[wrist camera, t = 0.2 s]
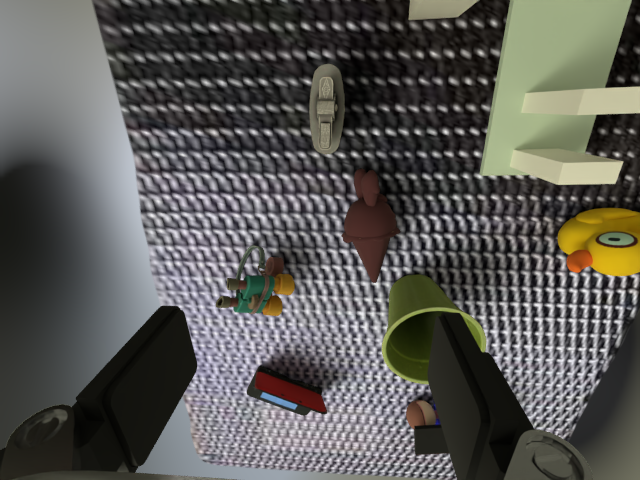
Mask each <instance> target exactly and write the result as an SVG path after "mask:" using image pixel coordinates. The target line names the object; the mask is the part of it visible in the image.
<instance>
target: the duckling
mask: <svg viewBox="0 0 640 480" xmlns="http://www.w3.org/2000/svg"><path fill="white" fill-rule="evenodd" d="M558 244H559V247H560V248H561V250H562V251H564V252H565V253H567V254H569V256H568V257H567V266H568V268H569V269H570V270H571V271H573V272H581V269H583V268H586V267H588V266H591V267H592V268H593V269H595V270H596V271H598V272H600V273H603V274H606V275H612V276H627V275H632V274H635V273H638V272H640V213H639V212H635V211H631V210H628V209H622V208H600V209H592V210H588V211H585V212H582V213H580V214H578V215H577V216H576V217H575V218H572V219H570V220H568V221H567V222H566V223H565V224H564V225H563V226H562V227H561V229H560V230H559V232H558Z"/></svg>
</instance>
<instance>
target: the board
mask: <svg viewBox="0 0 640 480" xmlns="http://www.w3.org/2000/svg"><path fill="white" fill-rule="evenodd" d="M631 1H632V0H510V5H509V11H508V16H507V22H506V28H505V33H504V39H503V45H502V50H501V56H500V62H499V67H498V73H497V79H496V84H495V90H494V96H493V102H492V107H491V113H490V119H489V124H488V130H487V136H486V141H485V147H484V153H483V158H482V164H481V170H480V175H482V176H489V175H530V174H528V173H525V172H522V171H520V170H517V169H514V168H512V167H510V163H511V159H512V154H513V150H519V149H557V148H559V149H564V150H569V151H574V152H579V153H584V154H585V150H586V147H587V144H588V141H589V137H590V134H591V131H592V128H593V124H594V121H595V118H596V115H561V114H537V113H521V112H522V107H523V103H524V98H525V93H534V92H548V91H563V90H578V89H597V88H605V85H606V82H607V79H608V76H609V72H610V69H611V66H612V63H613V59H614V56H615V53H616V50H617V46H618V43H619V40H620V37H621V33H622V30H623V27H624V24H625V20H626V17H627V14H628V11H629V7H630V4H631Z"/></svg>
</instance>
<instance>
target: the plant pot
mask: <svg viewBox="0 0 640 480" xmlns="http://www.w3.org/2000/svg"><path fill="white" fill-rule="evenodd" d="M443 312H455V313H460V314H461V315H462V317H463V319H464V320H465V322H466V324H467V326H468V328H469V330H470V331H471V333H472V335H473V337H474V339H475V340H476V342H477V344H478V346H479V348H480V349H481V351H482V352H485V349H486V336H485V333H484V330H483V328H482V327H481V325H480V324H479V323H478V322H477V321H476V320H475V319H474V318H473V317H471V316H470V315H469V314H467V313H465V312H463V311H462V310H460V309H459V308H458V307H456V306H455V305H454V304H453V302H452V301H451V300H450V299H449V298H448V297H447V296H446V294H445V293H444V292H443V291H442V290H441V289H440V288H439V286H438V285H437V284H436V283H435V282H434V281H433V280H432V279H431V278H429V277H427V276H424V275H420V274H419V275H407V276H404V277H402V278H400V279H399V280H397V281H396V282H395V283H394V285H393V286H392V288H391V290H390V294H389V319H388V328H387V332H386V334H385V336H384V339H383V343H382V354H383V358H384V361H385V363H386V364H387V366H388V367H389V368H390V369H391V370H392V371H393V372H394V373H395V374H396V375H398V376H399V377H401V378H404V379H406V380H408V381H411V382H415V383H421V384H429V383H428V376H427V373H428V365H429V359H430V352H431V346H432V339H433V332H434V326H435V319H436V317H437V316H441V314H442V313H443Z"/></svg>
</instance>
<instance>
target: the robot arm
mask: <svg viewBox="0 0 640 480" xmlns="http://www.w3.org/2000/svg"><path fill="white" fill-rule="evenodd" d="M196 370H197V361H196V357H195V353H194V349H193V345H192V341H191V337H190V334H189V330H188V326H187V322H186V318H185V314H184V312H183V311H182V310H180V308H179V307H178V306H161V307H160V308H159V309H158V310H157V311H156V312H155V313H154V314H153V315H152V316H151V317H150V318H149V319H148V320H147V321H146V323H145V324H144V325H143V326H142V327H141V328H140V329H139V330H138V331H137V332H136V333H135V334H134V336H133V337H132V338H131V339H130V340H129V341H128V342H127V343H126V344H125V345H124V346H123V347H122V348H121V350H120V351H119V352H118V353H117V354H116V355H115V356H114V357H113V358H112V359H111V360H110V362H108V363H107V365H106V366H105V367H104V368H103V369H102V370H101V371H100V372H99V373H98V374H97V375H96V376H95V378H94V379H93V380H92V381H91V382H90V383H89V384H88V385H87V386H86V387H85V388H84V389H83V390H82V392H81V393H80V394H79V395H78V396H77V397H76V400H77V402H76V403H75V404H74V405H73V406H72V407H71V406H69V405H64V404H61V405H54V406H51V407H48V408H45V409H43V410H41V411H39V412H37V413H36V414H34V415H32V416H31V417H29V418H28V419H26V420H25V421H24V422H23V423H22V424H21V425H20V426H18V427H17V428H16V429H15V431H14V432H13V433H12V434H11V436H10V437H9V439H8V442H7V444H6V448H4V449H2V450H0V480H234V479H220V478H206V477H190V476H176V475H161V474H146V473H145V474H144V473H135V472H136V470H137V468H138V466H141V465H143V464H144V463H145V461H146V459H147V458H148V456H149V454H150V452H151V450H152V449H153V447H154V445H155V444H156V442H157V440H158V438H159V436H160V435H161V433H162V431H163V429H164V427H165V426H166V424H167V422H168V421H169V419H170V417H171V415H172V413H173V412H174V410H175V408H176V406H177V404H178V403H179V401H180V399H181V398H182V396H183V394H184V392H185V390H186V389H187V387H188V385H189V383H190V382H191V380H192V378H193V376H194V375H195V373H196ZM427 376H428V383H429V386H430V390H431V393H432V396H433V400H434V403H435V406H436V410H437V413H438V416H439V420H440V423H441V426H442V430H443V433H444V437H445V440H446V443H447V447H448V450H449V453H450V457H451V460H452V463H453V467H454V470H455V473H456V477H457V480H593V476H592V472H591V469H590V467H589V465H588V463H587V462H586V460H585V459H584V458H583V456H582V455H581V454H580V453H579V452H578V451H577V450H576V449H575V448H574V447H573V446H572V445H571V444H569V443H568V442H566V441H565V440H563V439H562V438H560V437H559V436H556V435H554V434H552V433H550V432H546V431H542V430H535V429H534V428H533V426H532V424H531V423H530V421H529V419H528V417H527V416H526V414H525V412H524V411H523V409H522V407H521V405H520V404H519V402H518V400H517V399H516V397H515V395H514V393H513V392H512V390H511V388H510V387H509V385H508V383H507V381H506V380H505V378H504V376H503V375H502V373H501V371H500V369H499V368H498V366H497V364H496V363H495V361H494V359H493V358H492V356H491V355H490V354H489V353H487V352H482V351H481V349H480V348H479V346H478V344H477V342H476V340H475V339H474V337H473V335H472V333H471V331H470V330H469V328H468V326H467V324H466V322H465V320H464V319H463V317H462V315H461V314H460V313H455V312H443V313H442V314H441V316H437V317H436V319H435V326H434V332H433V339H432V346H431V352H430V359H429V365H428V373H427Z"/></svg>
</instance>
